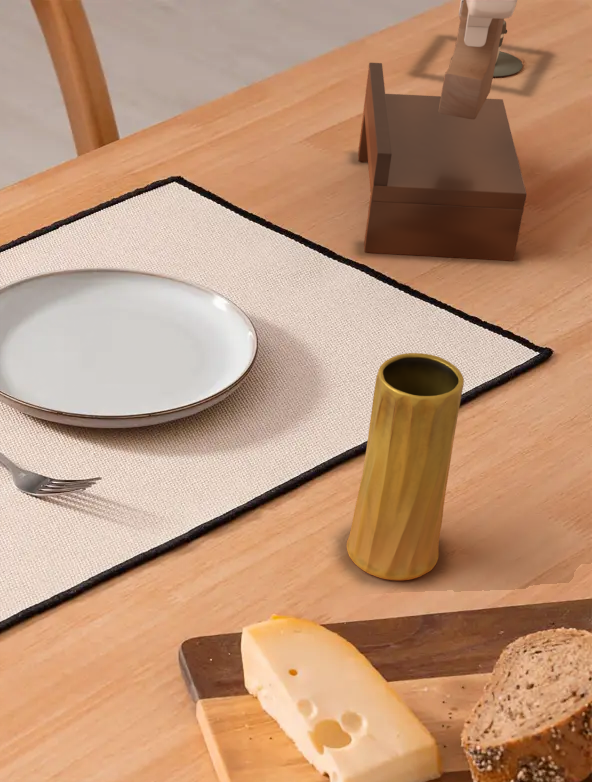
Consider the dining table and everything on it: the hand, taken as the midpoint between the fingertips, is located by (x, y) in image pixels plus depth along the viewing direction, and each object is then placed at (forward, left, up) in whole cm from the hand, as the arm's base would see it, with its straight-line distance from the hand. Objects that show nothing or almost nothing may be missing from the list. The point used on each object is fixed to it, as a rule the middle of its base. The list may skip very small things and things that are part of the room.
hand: (471, 32), depth 135 cm
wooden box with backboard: (+1, 0, -17) cm, 17 cm away
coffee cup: (-7, -35, -17) cm, 39 cm away
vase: (+7, +52, -17) cm, 55 cm away
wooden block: (0, +2, -6) cm, 6 cm away
